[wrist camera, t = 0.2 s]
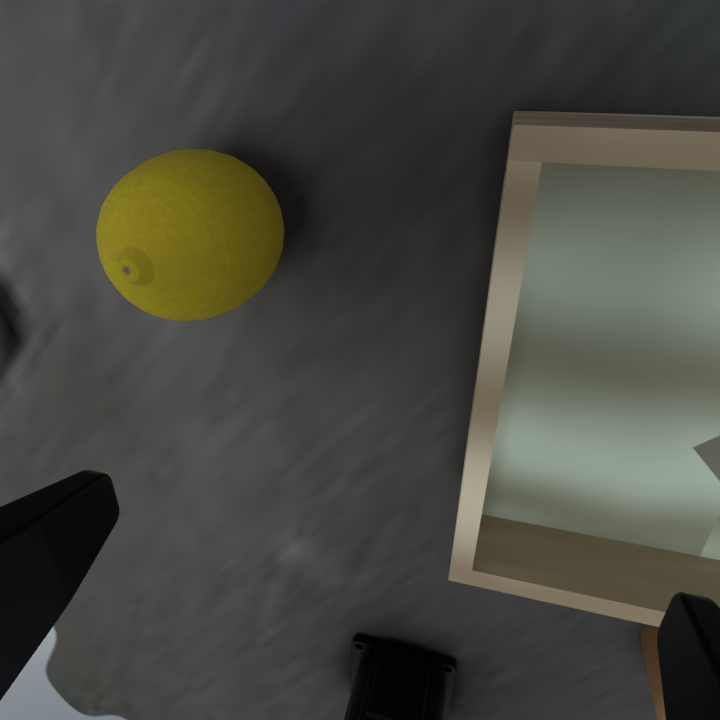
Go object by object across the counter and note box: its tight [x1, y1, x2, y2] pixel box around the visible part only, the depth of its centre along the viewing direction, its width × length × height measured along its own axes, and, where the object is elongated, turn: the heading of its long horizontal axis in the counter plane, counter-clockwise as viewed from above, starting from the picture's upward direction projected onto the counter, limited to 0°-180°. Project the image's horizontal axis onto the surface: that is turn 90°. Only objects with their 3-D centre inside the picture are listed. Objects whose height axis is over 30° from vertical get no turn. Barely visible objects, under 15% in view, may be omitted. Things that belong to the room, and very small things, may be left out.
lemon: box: [97, 149, 284, 321], centre depth 18 cm, size 6×6×8 cm
